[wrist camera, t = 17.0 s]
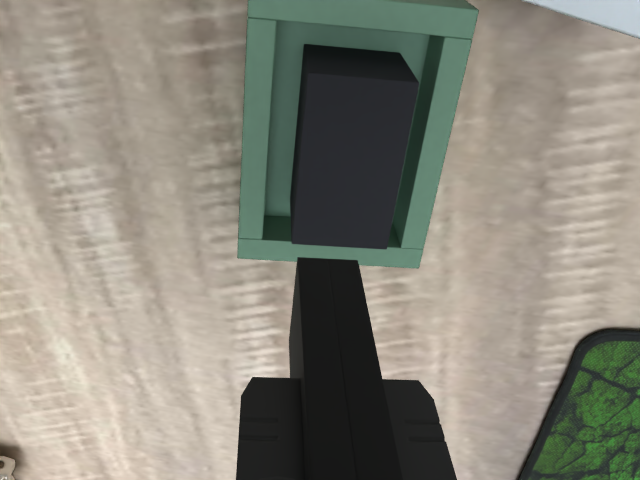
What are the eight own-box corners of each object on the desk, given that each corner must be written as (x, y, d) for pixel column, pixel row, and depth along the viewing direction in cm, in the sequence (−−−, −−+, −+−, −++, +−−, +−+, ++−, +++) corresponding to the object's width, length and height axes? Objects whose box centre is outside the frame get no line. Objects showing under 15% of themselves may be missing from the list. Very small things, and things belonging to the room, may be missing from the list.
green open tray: (251, -28, 26) (248, -15, 24) (459, -6, 27) (479, 9, 25) (240, 225, 33) (237, 258, 30) (407, 235, 34) (419, 268, 31)
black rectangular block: (303, 43, 27) (307, 72, 24) (400, 52, 28) (419, 82, 24) (289, 198, 32) (291, 244, 28) (374, 204, 32) (387, 250, 28)
